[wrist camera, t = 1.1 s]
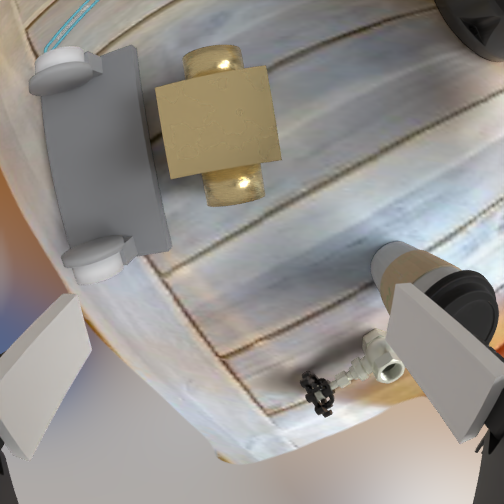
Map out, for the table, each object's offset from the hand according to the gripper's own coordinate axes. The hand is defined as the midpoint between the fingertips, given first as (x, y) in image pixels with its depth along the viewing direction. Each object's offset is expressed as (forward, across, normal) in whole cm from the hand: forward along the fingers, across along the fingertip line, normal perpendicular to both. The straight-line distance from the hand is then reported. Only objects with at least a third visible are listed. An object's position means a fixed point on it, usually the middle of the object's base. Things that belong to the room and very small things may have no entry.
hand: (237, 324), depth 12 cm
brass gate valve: (+21, 0, +9) cm, 23 cm away
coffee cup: (+20, +18, -5) cm, 27 cm away
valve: (+21, +14, -18) cm, 31 cm away
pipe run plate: (+22, -14, +7) cm, 27 cm away
